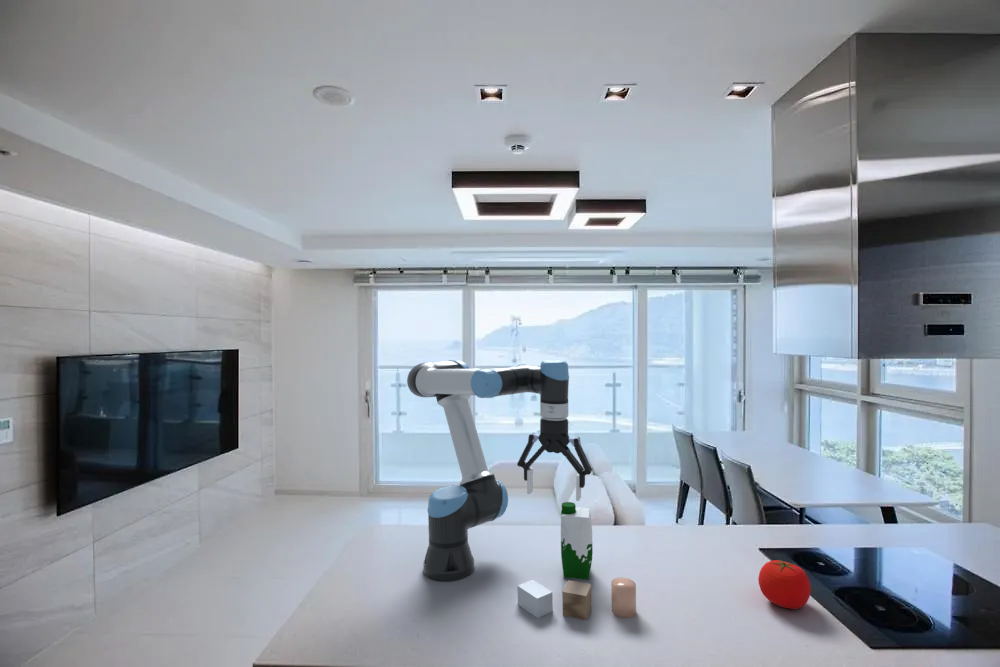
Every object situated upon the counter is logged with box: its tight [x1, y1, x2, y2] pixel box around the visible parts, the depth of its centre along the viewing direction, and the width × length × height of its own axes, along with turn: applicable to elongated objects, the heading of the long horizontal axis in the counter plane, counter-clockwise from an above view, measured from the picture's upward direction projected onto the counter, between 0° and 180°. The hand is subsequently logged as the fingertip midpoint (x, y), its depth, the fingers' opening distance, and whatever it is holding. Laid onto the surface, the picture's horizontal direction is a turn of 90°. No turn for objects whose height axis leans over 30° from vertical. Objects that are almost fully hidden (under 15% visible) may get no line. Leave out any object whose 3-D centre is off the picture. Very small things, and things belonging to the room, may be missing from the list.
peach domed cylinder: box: [610, 577, 637, 619], centre depth 126 cm, size 6×6×7 cm
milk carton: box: [560, 501, 594, 581], centre depth 145 cm, size 9×9×20 cm
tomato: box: [757, 559, 812, 610], centre depth 128 cm, size 11×12×10 cm
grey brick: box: [516, 579, 554, 619], centre depth 128 cm, size 8×5×5 cm, turn 36°
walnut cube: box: [561, 579, 593, 621], centre depth 126 cm, size 6×6×6 cm
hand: (553, 495), depth 135 cm, fingers open, 13 cm apart
